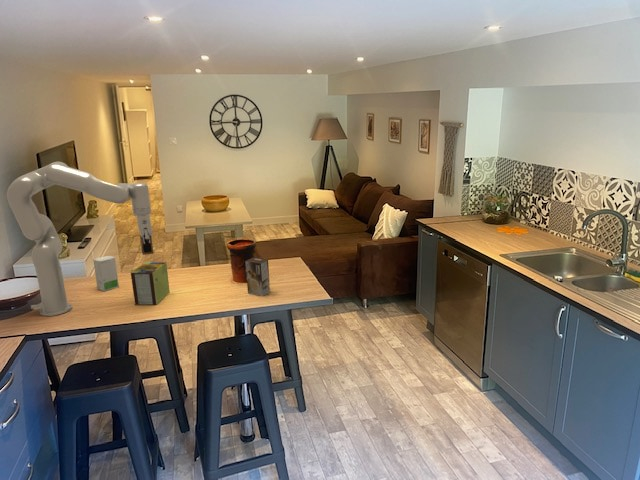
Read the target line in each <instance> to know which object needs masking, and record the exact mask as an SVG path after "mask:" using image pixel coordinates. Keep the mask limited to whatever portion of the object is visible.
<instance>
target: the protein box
mask: <svg viewBox="0 0 640 480" xmlns="http://www.w3.org/2000/svg"><path fill="white" fill-rule="evenodd" d="M130 279H131V285H132V286H131V287H132V291H133V298H134V305H138V306H139V305H140V306H141V305H142V306H143V305H144V306H146V305H147V306H157V305H158V304H159V303H160V302H161V301H162V300H164V298H166V297H167V296H168V295H169V294H170V293H171V291H170V282H169V274H168V265H167V261H145V262H143V263H142V264H141V265H139V266H138V267H137V268H135V269H134V270H132V271H131V272H130Z"/></svg>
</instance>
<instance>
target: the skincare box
mask: <svg viewBox="0 0 640 480" xmlns="http://www.w3.org/2000/svg"><path fill="white" fill-rule="evenodd" d="M93 268H94V274H95V280H96V288H97V290H100V291H101V292H106V291H110V290H113V289H117V288H119V287H120V286H119V277H118V271H117V262H116V257H115V256H111V255H106V256H101V257H96V258H93Z"/></svg>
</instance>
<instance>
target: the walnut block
mask: <svg viewBox="0 0 640 480" xmlns="http://www.w3.org/2000/svg"><path fill="white" fill-rule="evenodd" d="M144 237H145V236H144ZM152 237H153V236H150V235H149V238H150V243H151V249H152V251H151V252H146V253H145V252H144V247H143V244H144V243H143V238H142V237H141V235H140V234H139V240H140V249H141V253H142V255H143V256H144V255H152V254H154V247H153V239H152ZM144 240H145V238H144Z"/></svg>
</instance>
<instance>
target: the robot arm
mask: <svg viewBox="0 0 640 480" xmlns="http://www.w3.org/2000/svg"><path fill="white" fill-rule="evenodd" d="M55 185H57V186H60V187H64V188H67V189H71V190H74V191H78V192H80V193H81V192H82V193H85V194H86V195H88V196H91V197H93V198H96V199H99V200H101V201H106V202H109V203H114V204H117V205H118V204H119V205H120V204H124V203H126V202H127V201H128V200H129V199H130V201H131V208H132V212H133V213H132V214H133V216H135V217H136V220H137V221H136V223H137V228H138V233H139V236H140V235H141V237H142V238H143V243H144V244H143V247H144V252H145V253H146V252H151V251H152V249H151V243H150V238H149V235H150V236H151V237H153V236H154V234H153V229H152V223H151V217H150V215H151V214H152V209H151V208H152V207H151V199H150V191H149V185H148V183H146V182H134V183H127V182H126V183H124V182H120V183H119V182H118V183H116V184H112V183H110V182H106V181H103V180H101V179H99V178H97V177H95V176H94V175H93V174H92V173H90V172H87V171H84V170H80V169H77V168H74V167H70V166H68V164H66V163H65V162H62V161H54V162H51V163H49V164H47V165H45V166H42V167H41V168H38V169H35V170H33V171H30V172H27V173H25V174H23V175H21V176H19V177H17V178H15V179H14V180H13V181H12V183H10V185H9V186H8V189H7V191H6V200H7V202H8V205H9V207H10V209H11V211H12V213H13V215H14V217H15V219H16V221H17V224H18V226H19V228H20V229H21V232H22V234H23V236H24V237H25V238H26V239H28V240H30V241H35V243H36V244H35V245H34V246H33V248H32V251H31V260H32V263H33V266H34V268H35V269H34V270H35V273H36V279H37V283H38V287H39V293H40V294H39V295H40V298H41V302H39V303H38V304H31V305H30V309H31V310H33V311H35V312H36V311H39V315H41V316H44V317H54V316H59V315H63V314H65V313H67V312H69V311H71V310H72V309H73V305H72V304H71V303H70V302H68V298H67V293H66V287H65V282H64V277H63V276H64V275H63V271H62V266H61V264H60V260H59V255H60V254H61V252H62V251H63V250H62V249H63V244H62V241H61V238H60V237H59V234H58V232H57V230H56V228H55V225H54V224H53V222H52V220H51V219H50V218H49V216H47V215H45V214H42V213H39V210H38V208H37V205H36V204H35V202H34V201H33V200H32V197H33V196H34V195H36V194H38V193H39V192H40V191H43V190H45V189H47V188H50V187H52V186H55ZM144 236H145V237H144ZM144 238H145V240H144Z"/></svg>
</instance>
